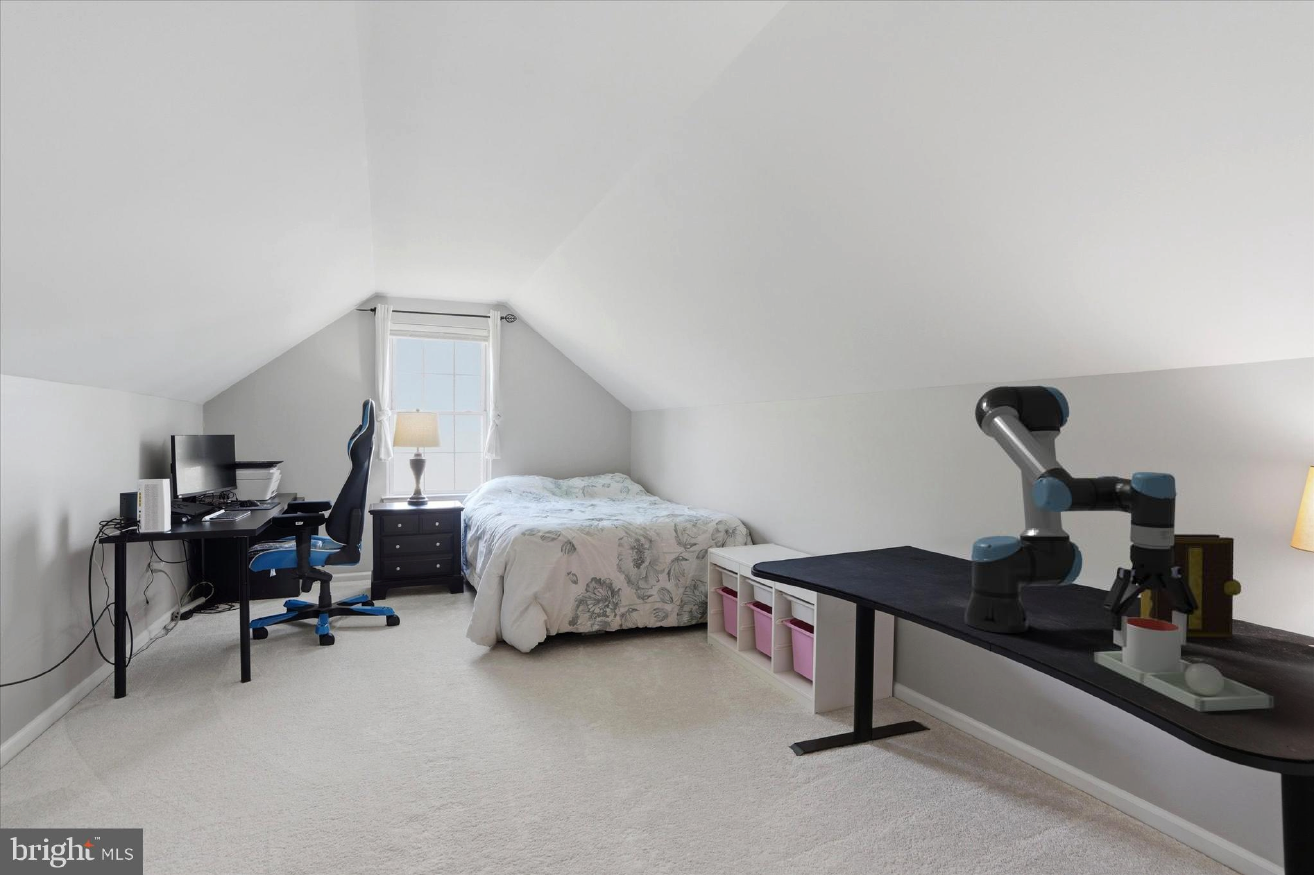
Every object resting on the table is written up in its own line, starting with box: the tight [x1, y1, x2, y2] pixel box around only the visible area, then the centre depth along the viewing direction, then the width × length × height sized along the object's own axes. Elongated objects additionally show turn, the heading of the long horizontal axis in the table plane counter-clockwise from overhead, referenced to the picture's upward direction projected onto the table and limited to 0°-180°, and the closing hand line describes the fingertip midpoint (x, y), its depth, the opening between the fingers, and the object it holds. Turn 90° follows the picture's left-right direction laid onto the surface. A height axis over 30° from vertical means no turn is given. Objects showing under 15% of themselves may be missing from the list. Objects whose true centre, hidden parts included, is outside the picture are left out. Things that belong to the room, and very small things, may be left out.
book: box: [1139, 533, 1242, 639], centre depth 171 cm, size 22×8×25 cm, turn 87°
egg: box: [1184, 662, 1224, 696], centre depth 130 cm, size 6×6×6 cm
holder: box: [1093, 650, 1275, 712], centre depth 137 cm, size 26×15×3 cm, turn 5°
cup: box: [1121, 617, 1182, 673], centre depth 143 cm, size 10×10×10 cm
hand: (1149, 643), depth 143 cm, fingers open, 13 cm apart
